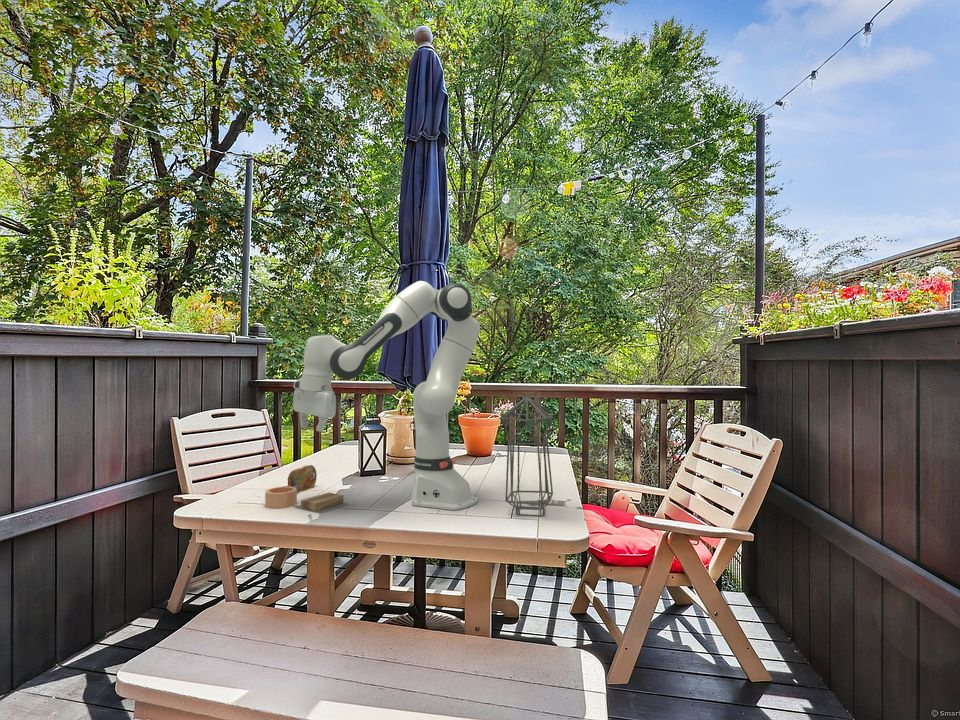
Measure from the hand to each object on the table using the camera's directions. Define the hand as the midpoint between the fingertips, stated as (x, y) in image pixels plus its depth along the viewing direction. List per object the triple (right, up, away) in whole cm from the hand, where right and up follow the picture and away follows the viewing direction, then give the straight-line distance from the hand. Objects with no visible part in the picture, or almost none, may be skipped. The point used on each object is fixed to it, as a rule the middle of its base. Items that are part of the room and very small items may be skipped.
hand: (311, 429), depth 155 cm
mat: (+4, -24, -1) cm, 24 cm away
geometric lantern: (+67, -25, -5) cm, 71 cm away
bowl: (-10, -24, 0) cm, 26 cm away
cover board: (+4, -24, -1) cm, 24 cm away
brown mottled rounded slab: (-10, -25, +19) cm, 33 cm away
